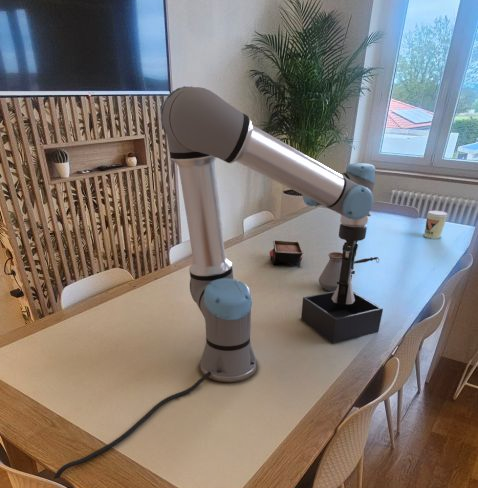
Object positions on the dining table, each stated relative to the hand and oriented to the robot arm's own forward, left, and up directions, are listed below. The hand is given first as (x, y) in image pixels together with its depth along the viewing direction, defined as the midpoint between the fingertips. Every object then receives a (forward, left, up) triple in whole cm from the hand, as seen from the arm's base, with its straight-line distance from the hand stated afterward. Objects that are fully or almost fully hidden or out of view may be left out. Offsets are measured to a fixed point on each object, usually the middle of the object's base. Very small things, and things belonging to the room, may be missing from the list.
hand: (343, 298), depth 135 cm
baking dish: (+15, +60, -10) cm, 62 cm away
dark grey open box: (0, 0, -9) cm, 9 cm away
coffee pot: (+19, +23, -10) cm, 31 cm away
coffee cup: (+104, +62, -10) cm, 122 cm away
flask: (0, 0, -1) cm, 1 cm away
